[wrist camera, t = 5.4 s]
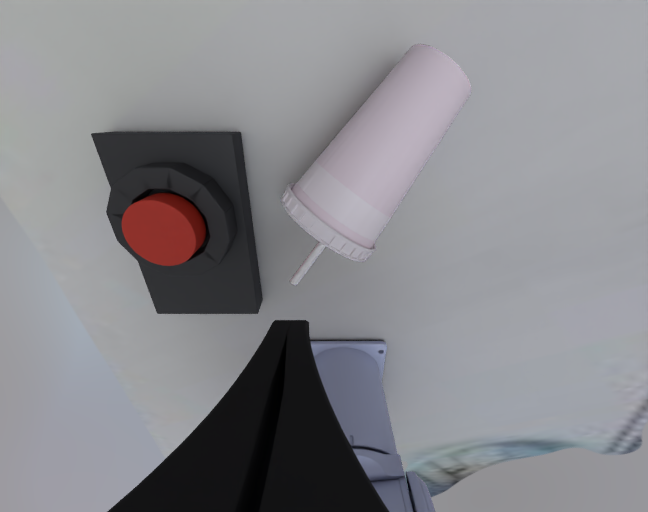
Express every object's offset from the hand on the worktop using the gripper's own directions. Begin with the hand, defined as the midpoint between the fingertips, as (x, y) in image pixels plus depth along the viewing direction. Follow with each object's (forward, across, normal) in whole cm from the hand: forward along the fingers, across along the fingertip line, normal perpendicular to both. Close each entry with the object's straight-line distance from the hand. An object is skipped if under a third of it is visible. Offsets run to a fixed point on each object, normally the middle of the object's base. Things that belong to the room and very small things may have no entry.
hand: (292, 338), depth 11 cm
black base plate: (+10, +8, 0) cm, 13 cm away
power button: (+7, +8, -2) cm, 11 cm away
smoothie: (+8, -7, -10) cm, 15 cm away
